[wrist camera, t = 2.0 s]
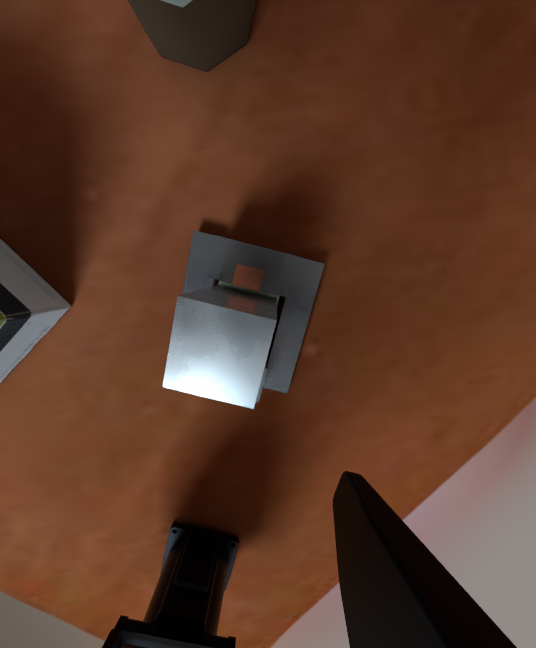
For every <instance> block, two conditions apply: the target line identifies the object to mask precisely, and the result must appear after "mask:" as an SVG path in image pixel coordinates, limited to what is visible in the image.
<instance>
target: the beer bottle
mask: <svg viewBox="0 0 536 648" xmlns="http://www.w3.org/2000/svg"><path fill="white" fill-rule="evenodd" d="M128 2H129V3H130V5H131V7H132V9H133V10H134V12H135V14H136V16H137V18H138V19H139V21H140V23H141V25H142V26H143V28H144V30H145V32H146V33H147V35H148V37H149V38H150V40H151V41H152V43H153V44H154V46H155V48H156V49H157V51H158V52H159V54H160V55H161V56H162V57H164V58H166V59H170V60H173V61H176V62H179V63H182V64H185V65H188V66H191V67H194V68H197V69H201V70H204V71H207V72H208V71H209V70H211V69H212V68H214V67H215V66H217V65H218V64H219V63H221V62H222V61H224V60H225V59H226V58H228V57H229V56H231V55H232V54H234V53H235V52H236V51H238V50H239V49H241V48H242V47H244V46H245V45H246V43H247V40H248V35H249V31H250V26H251V22H252V17H253V13H254V9H255V4H256V0H128Z"/></svg>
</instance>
